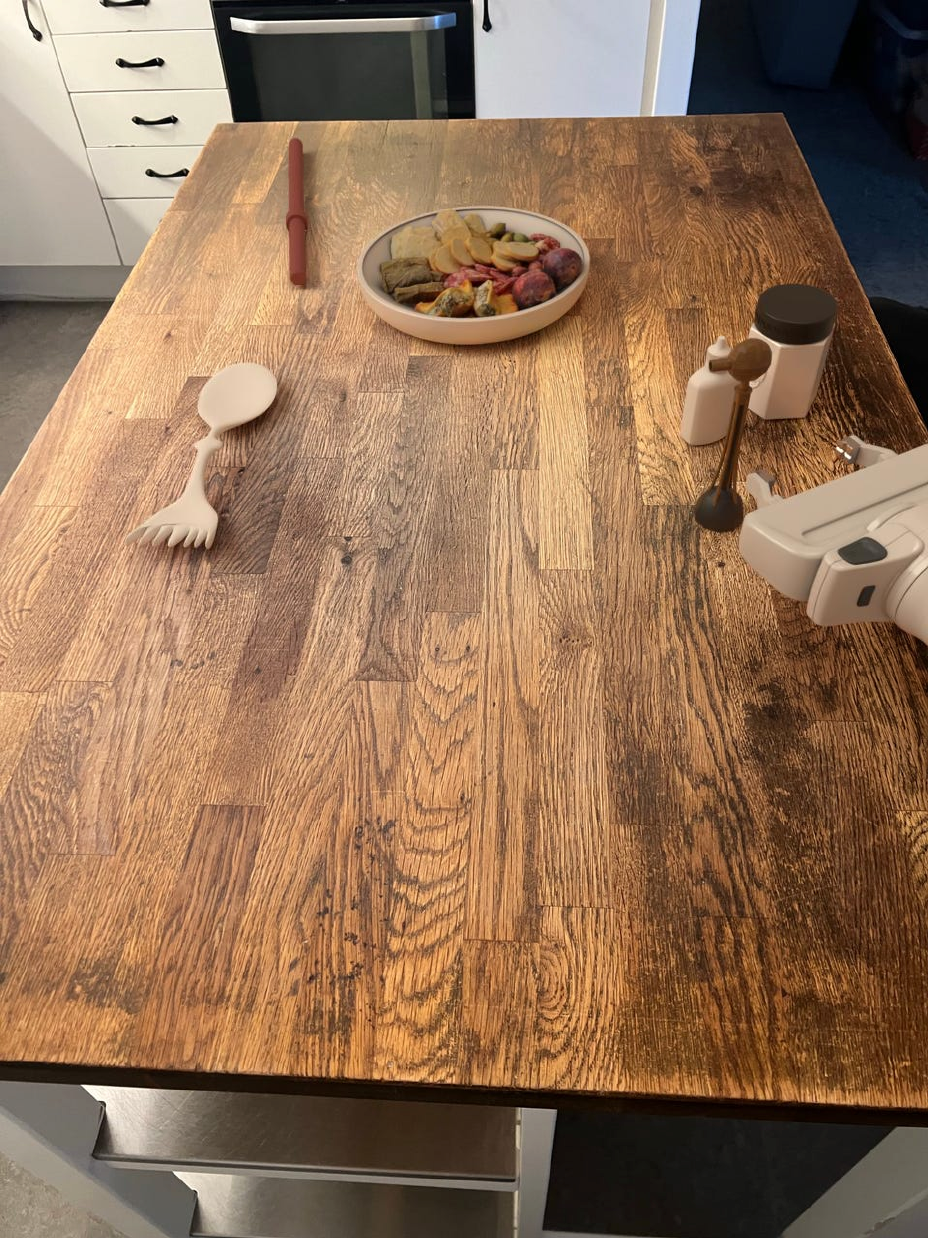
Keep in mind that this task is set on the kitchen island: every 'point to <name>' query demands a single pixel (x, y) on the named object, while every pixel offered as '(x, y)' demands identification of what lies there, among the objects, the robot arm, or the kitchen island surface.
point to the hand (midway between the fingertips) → (798, 460)
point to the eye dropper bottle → (708, 400)
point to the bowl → (473, 274)
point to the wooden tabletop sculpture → (732, 436)
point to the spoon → (210, 453)
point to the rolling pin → (296, 214)
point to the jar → (791, 348)
